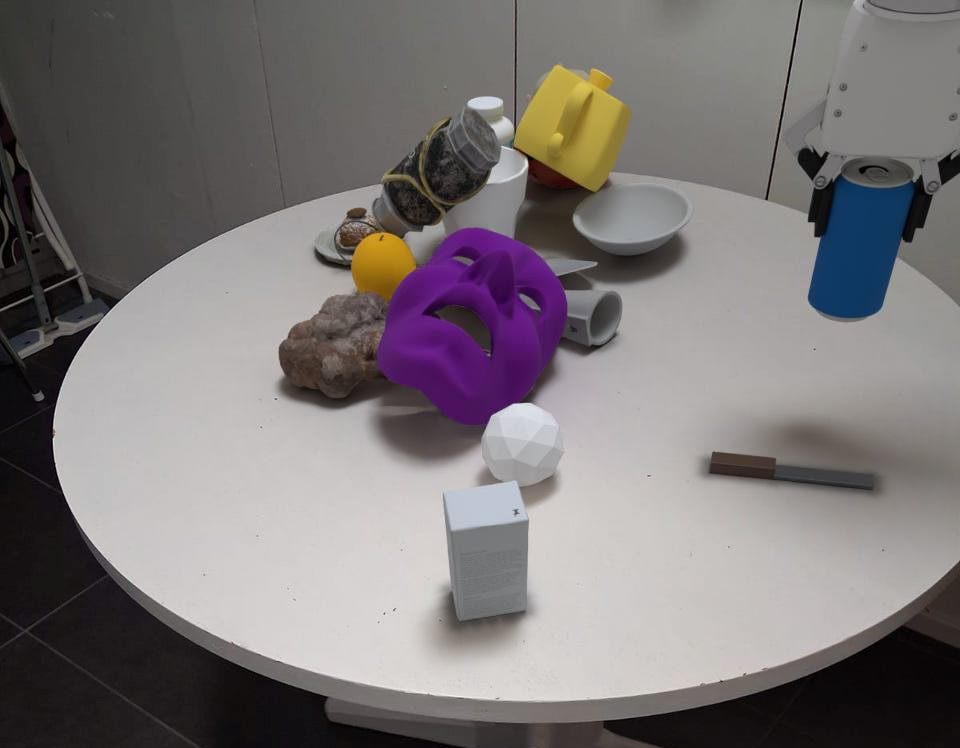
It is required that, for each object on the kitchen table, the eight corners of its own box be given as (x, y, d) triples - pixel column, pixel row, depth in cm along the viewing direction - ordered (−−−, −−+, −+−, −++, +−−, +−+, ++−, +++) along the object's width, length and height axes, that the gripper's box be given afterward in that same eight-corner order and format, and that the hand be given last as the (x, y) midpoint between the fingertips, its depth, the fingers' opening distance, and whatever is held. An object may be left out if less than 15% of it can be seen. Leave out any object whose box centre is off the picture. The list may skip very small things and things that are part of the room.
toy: (521, 85, 138) (518, 197, 142) (502, 52, 124) (499, 177, 128) (625, 81, 135) (618, 196, 139) (617, 47, 121) (610, 175, 125)
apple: (355, 282, 120) (345, 223, 114) (417, 276, 120) (410, 217, 115) (356, 314, 115) (346, 254, 109) (420, 308, 115) (414, 247, 109)
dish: (656, 292, 114) (659, 252, 111) (549, 269, 120) (549, 230, 116) (708, 231, 124) (713, 192, 121) (608, 212, 129) (609, 174, 126)
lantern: (458, 85, 105) (323, 217, 121) (449, 126, 101) (310, 257, 117) (511, 143, 110) (374, 263, 126) (504, 184, 106) (364, 302, 122)
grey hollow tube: (503, 292, 119) (625, 326, 109) (469, 318, 117) (590, 356, 106) (494, 249, 115) (620, 280, 104) (458, 275, 113) (583, 310, 102)
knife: (872, 477, 89) (875, 467, 88) (872, 489, 88) (876, 479, 87) (710, 461, 92) (712, 451, 91) (709, 472, 91) (710, 462, 90)
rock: (429, 363, 113) (422, 275, 108) (458, 388, 104) (452, 293, 98) (277, 383, 109) (263, 292, 104) (293, 411, 99) (278, 313, 94)
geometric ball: (578, 405, 85) (562, 492, 86) (560, 416, 93) (545, 496, 94) (497, 387, 84) (480, 476, 85) (485, 400, 92) (470, 482, 93)
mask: (476, 473, 96) (576, 324, 107) (525, 383, 82) (633, 224, 94) (335, 382, 95) (451, 242, 106) (361, 276, 82) (490, 129, 93)
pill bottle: (498, 223, 129) (494, 116, 119) (452, 213, 132) (445, 108, 122) (525, 201, 133) (523, 96, 123) (480, 192, 136) (475, 89, 126)
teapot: (529, 151, 130) (571, 62, 125) (607, 196, 130) (652, 109, 125) (499, 138, 113) (547, 33, 107) (589, 191, 113) (641, 88, 107)
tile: (603, 261, 114) (603, 265, 114) (550, 257, 122) (550, 261, 122) (464, 297, 105) (465, 301, 106) (417, 290, 114) (418, 294, 114)
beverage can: (867, 288, 88) (903, 151, 79) (890, 324, 83) (932, 184, 74) (797, 293, 88) (825, 157, 79) (817, 329, 83) (849, 190, 74)
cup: (444, 229, 129) (437, 143, 120) (535, 231, 127) (534, 144, 119) (426, 274, 120) (417, 185, 112) (523, 276, 119) (521, 186, 110)
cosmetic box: (516, 572, 82) (519, 478, 72) (527, 612, 80) (531, 520, 70) (448, 583, 82) (441, 489, 72) (456, 623, 80) (450, 532, 70)
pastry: (401, 266, 122) (397, 230, 119) (309, 269, 123) (303, 234, 119) (408, 224, 130) (404, 190, 127) (322, 228, 131) (316, 194, 127)
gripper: (1049, -31, 68) (967, 219, 81) (798, -32, 71) (759, 208, 84) (1065, 0, 63) (975, 260, 76) (796, -3, 66) (754, 247, 80)
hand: (862, 231), depth 80 cm, fingers closed on beverage can, 6 cm apart
